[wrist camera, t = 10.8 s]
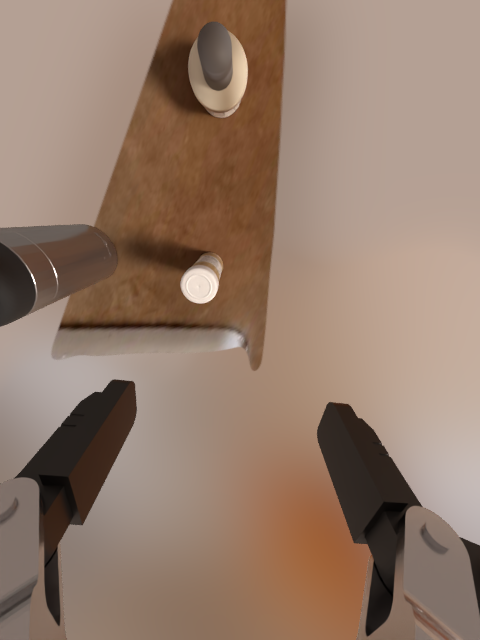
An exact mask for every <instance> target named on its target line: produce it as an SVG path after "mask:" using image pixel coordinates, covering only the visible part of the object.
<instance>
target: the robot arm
mask: <svg viewBox="0 0 480 640" xmlns="http://www.w3.org/2000/svg"><path fill="white" fill-rule="evenodd" d="M116 266H117V253H116V250H115V247H114V245H113V243H112V242H111V240H110V239H109V238H108V237H107V236H106V235H105V234H104V233H103V232H102V231H100V230H99V229H97V228H95V227H92V226H89V225H55V226H34V227H13V228H0V326H4V325H6V324H9V323H11V322H13V321H16V320H18V319H20V318H22V317H24V316H26V315H28V314H31V313H33V312H35V311H37V310H39V309H41V308H43V307H45V306H47V305H50V304H52V303H54V302H56V301H58V300H60V299H62V298H65V297H67V296H69V295H71V294H73V293H75V292H78V291H80V290H82V289H84V288H86V287H88V286H90V285H93V284H95V283H97V282H99V281H101V280H103V279H105V278H108V277H109V276H110V275H112V274H113V272H114V271H115V269H116ZM136 411H137V407H136V393H135V383H134V382H133V381H124V380H112V381H111V382H110V383H109V384H108V385H107V387H106V388H105V389H104V390H103V392H94V393H93V394H91V395H90V396H88V397H87V398H85V399H84V400H82V401H81V402H80V403H79V404H78V406H76V408H75V409H74V410H73V411H72V412H71V414H70V416H68V417H67V418H66V419H65V421H64V422H63V423H62V424H61V427H59V428H58V429H57V430H56V431H55V432H54V434H53V435H52V436H51V437H50V439H48V441H47V442H46V443H45V444H44V445H43V446H42V447H41V449H40V450H39V451H38V452H37V453H36V454H35V456H34V457H33V458H32V459H31V460H30V462H29V463H28V464H27V465H26V466H25V468H24V469H23V470H22V471H21V472H20V473H19V474H18V475H17V476H16V477H15V478H14V479H11V480H8V481H5V482H3V483H0V640H67V638H66V631H65V622H64V602H63V583H62V565H61V545H60V540H61V539H62V537H63V535H64V533H65V531H66V529H67V528H68V526H69V524H73V525H74V524H75V525H83V523H84V521H85V519H86V517H87V515H88V513H89V511H90V509H91V508H92V505H93V504H94V502H95V499H96V498H97V496H98V494H99V492H100V490H101V487H102V486H103V484H104V482H105V480H106V478H107V476H108V474H109V472H110V470H111V468H112V466H113V464H114V462H115V460H116V458H117V456H118V454H119V452H120V450H121V448H122V446H123V444H124V442H125V440H126V438H127V436H128V434H129V432H130V430H131V428H132V426H133V424H134V421H135V418H136ZM317 438H318V443H319V446H320V448H321V451H322V454H323V457H324V460H325V463H326V465H327V468H328V471H329V474H330V477H331V479H332V482H333V485H334V488H335V490H336V494H337V496H338V499H339V502H340V505H341V508H342V510H343V513H344V516H345V519H346V522H347V524H348V527H349V530H350V533H351V536H352V538H353V541H354V543H359V544H368V546H369V548H370V551H371V555H370V557H369V561H368V568H367V576H366V583H365V589H364V596H363V603H362V610H361V617H360V623H359V630H358V636H357V639H356V640H480V546H479V545H477V544H475V543H472V542H470V541H468V540H465V539H463V538H460V537H459V536H458V535H457V534H456V532H455V531H454V530H453V529H452V528H451V527H450V525H449V524H447V523H446V522H445V521H444V520H443V519H442V518H441V517H439V516H438V515H436V514H435V513H434V512H432V511H430V510H428V509H426V508H423V507H422V505H421V504H420V502H419V501H418V499H417V498H416V496H415V495H414V493H413V492H412V490H411V488H410V487H409V485H408V484H407V482H406V481H405V479H404V477H403V476H402V474H401V473H400V471H399V470H398V468H397V466H396V465H395V463H394V462H393V460H392V458H391V457H389V454H388V452H387V451H386V449H385V447H384V446H382V443H381V441H380V440H379V438H378V436H377V435H376V433H375V432H374V430H373V429H372V428H371V427H370V426H369V425H368V424H367V423H366V422H365V421H364V420H363V419H360V418H358V417H357V416H356V414H355V412H354V411H353V409H352V407H351V406H350V405H348V404H343V403H333V402H329V403H328V404H327V406H326V409H325V411H324V414H323V416H322V419H321V421H320V424H319V426H318V430H317Z"/></svg>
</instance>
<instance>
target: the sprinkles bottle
mask: <svg viewBox="0 0 480 640" xmlns="http://www.w3.org/2000/svg"><path fill="white" fill-rule="evenodd" d="M222 270H223V262H222V260H221V258H220V257H219V256H218V255H217V254H215V253H211V252H208V253H204V254H202V255H201V256H200V258H199V259H198V261H196V262H195V263H194V264H193V266H192V267H190V268H189V269H188V270H187V271H186V272H185V273H184V275H183V276H182V279H181V290H182V292H183V294H184V296H185V297H186V298H187V299H189V300H190V301H192V302H194V303H206V302H208V301H210V300H212V299H213V298H214V296H215V295H216V293H217V290H218V285H219V283H218V282H219V279H220V276H221V272H222Z"/></svg>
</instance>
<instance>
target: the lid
mask: <svg viewBox="0 0 480 640" xmlns="http://www.w3.org/2000/svg"><path fill="white" fill-rule="evenodd" d="M247 72H248V69H247V60H246V56H245V53H244V50H243V48H242V46H241V44H240V42H239V41H238V39H237V38H236V37H235V36H234V35H233V34H232V33H230V32H229V31H227V29H226V28H225V27H224V26H223V25H222V24H220V23H218V22H209V23H207V24H206V25H205V26H204V27H203V28H202V29H201V31H200V33H199V36H198V38H197V39H196V41H195V42H194V44H193V46H192V48H191V51H190V55H189V60H188V73H189V79H190V83H191V86H192V89H193V92H194V94H195V96H196V98H197V99H198V101H199V102H200V103H201V104H202V105H203V106H204V107H205V108H206V109H208V110H209V111H212V112H215V113H225V112H228V111H230V110H232V109H233V108H234V107H235V106H237V104H238V103H239V102H240V100H241V99H242V97H243V95H244V92H245V89H246V84H247Z"/></svg>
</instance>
